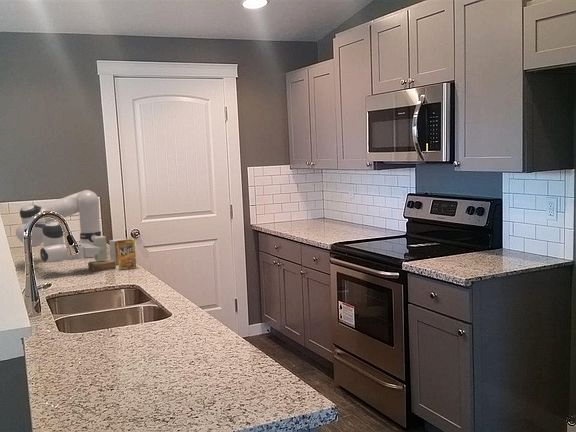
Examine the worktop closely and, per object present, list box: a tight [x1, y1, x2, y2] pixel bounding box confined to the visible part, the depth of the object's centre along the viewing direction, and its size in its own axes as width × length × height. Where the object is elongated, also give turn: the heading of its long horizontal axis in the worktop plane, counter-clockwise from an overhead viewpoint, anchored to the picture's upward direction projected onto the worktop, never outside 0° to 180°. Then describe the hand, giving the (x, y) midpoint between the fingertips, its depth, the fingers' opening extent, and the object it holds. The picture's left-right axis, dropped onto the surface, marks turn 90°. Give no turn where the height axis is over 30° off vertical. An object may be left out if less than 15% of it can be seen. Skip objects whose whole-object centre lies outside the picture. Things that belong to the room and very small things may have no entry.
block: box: [93, 235, 108, 261], centre depth 308 cm, size 5×5×12 cm
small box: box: [108, 238, 123, 266], centre depth 323 cm, size 8×6×13 cm
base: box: [87, 258, 117, 273], centre depth 309 cm, size 10×11×4 cm
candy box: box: [117, 238, 137, 271], centre depth 306 cm, size 9×4×15 cm, turn 107°
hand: (101, 247), depth 308 cm, fingers closed on block, 4 cm apart
